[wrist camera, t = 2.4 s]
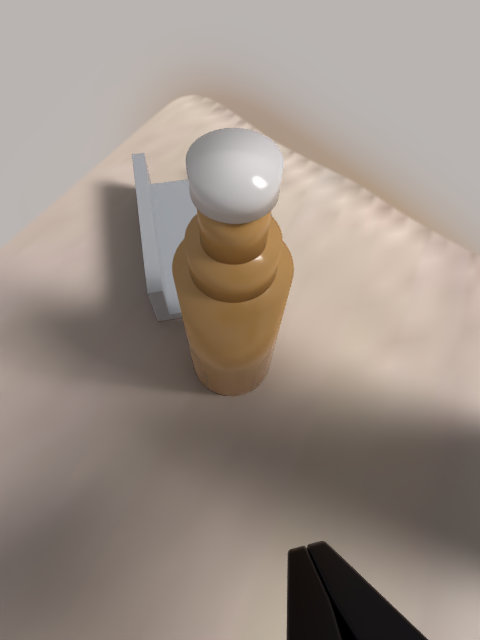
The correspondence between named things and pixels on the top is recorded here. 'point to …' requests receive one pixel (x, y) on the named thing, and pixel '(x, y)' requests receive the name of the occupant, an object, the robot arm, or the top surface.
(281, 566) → the top surface
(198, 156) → the amber bottle
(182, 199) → the grey cradle
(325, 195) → the top surface
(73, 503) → the top surface
